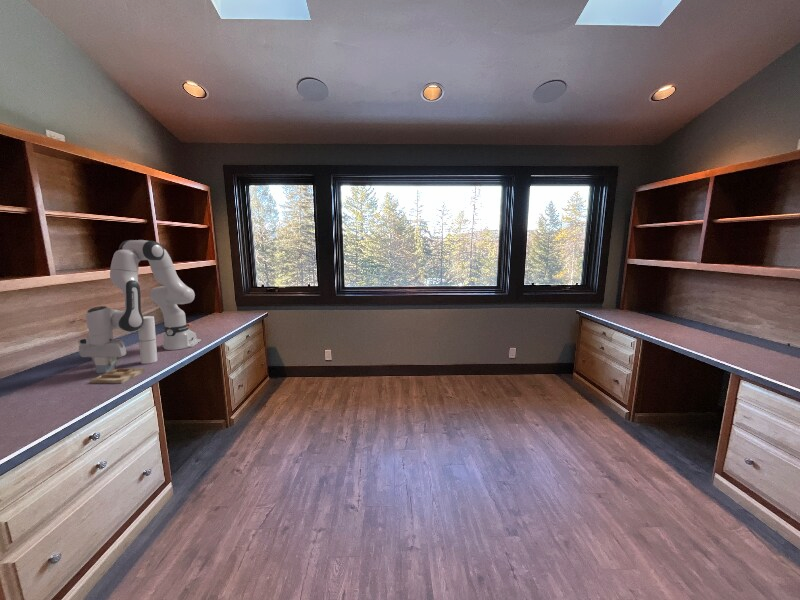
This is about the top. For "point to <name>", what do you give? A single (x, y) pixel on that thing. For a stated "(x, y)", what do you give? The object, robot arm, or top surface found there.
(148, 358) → the cylindrical container
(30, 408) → the top surface
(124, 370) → the base plate
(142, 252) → the robot arm
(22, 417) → the top surface
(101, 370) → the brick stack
